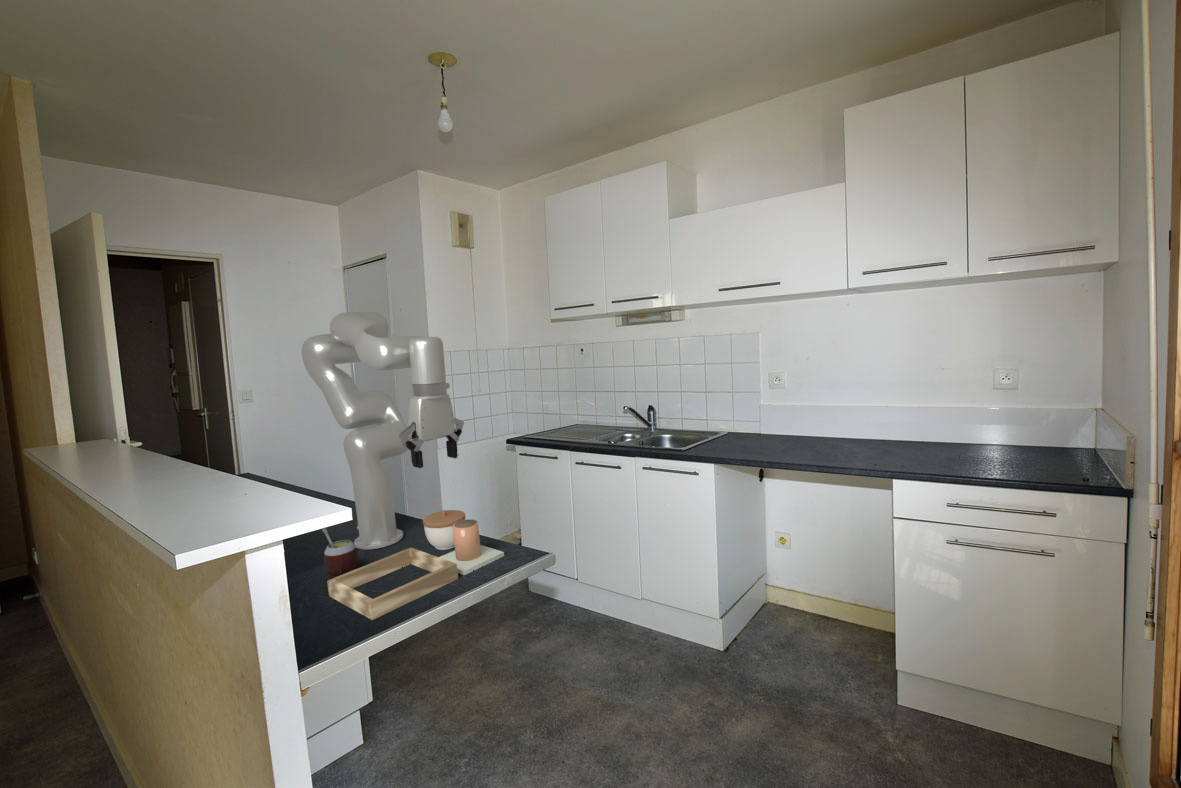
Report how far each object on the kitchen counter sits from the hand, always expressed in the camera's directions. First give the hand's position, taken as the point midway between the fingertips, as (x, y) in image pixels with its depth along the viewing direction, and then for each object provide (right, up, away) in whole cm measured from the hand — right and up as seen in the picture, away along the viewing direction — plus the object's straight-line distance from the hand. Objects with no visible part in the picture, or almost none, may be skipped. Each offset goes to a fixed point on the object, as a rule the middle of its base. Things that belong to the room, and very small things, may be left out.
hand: (435, 462), depth 127 cm
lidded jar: (-1, -24, +14) cm, 28 cm away
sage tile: (+7, -24, +3) cm, 25 cm away
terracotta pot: (+7, -23, +3) cm, 24 cm away
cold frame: (-7, -27, -8) cm, 29 cm away
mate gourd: (-21, -27, -1) cm, 35 cm away
